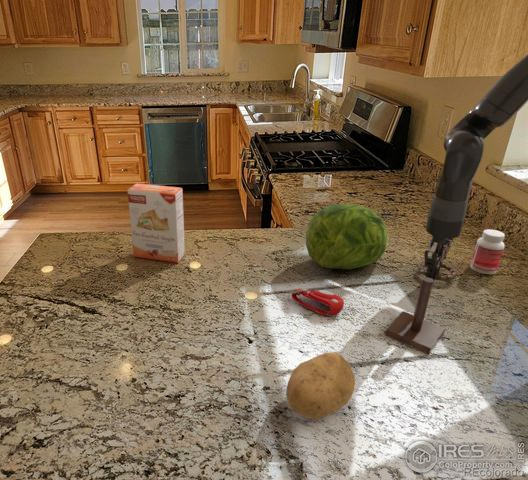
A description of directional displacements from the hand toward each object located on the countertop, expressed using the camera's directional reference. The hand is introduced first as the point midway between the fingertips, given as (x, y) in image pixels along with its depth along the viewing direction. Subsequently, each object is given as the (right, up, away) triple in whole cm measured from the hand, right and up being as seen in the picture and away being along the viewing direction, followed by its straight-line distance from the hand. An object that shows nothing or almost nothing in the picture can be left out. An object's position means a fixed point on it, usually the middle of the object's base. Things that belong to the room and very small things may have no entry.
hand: (431, 277), depth 107 cm
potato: (-38, -19, -34) cm, 54 cm away
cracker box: (-71, +5, +16) cm, 73 cm away
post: (-13, -10, -17) cm, 24 cm away
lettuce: (-18, +3, +11) cm, 22 cm away
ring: (+3, +2, +2) cm, 4 cm away
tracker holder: (-31, -6, -7) cm, 32 cm away
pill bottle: (+17, +1, +7) cm, 18 cm away
